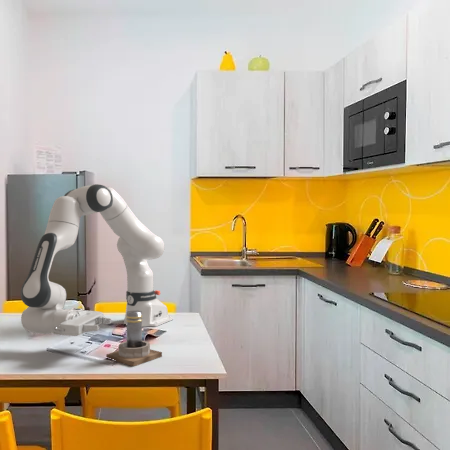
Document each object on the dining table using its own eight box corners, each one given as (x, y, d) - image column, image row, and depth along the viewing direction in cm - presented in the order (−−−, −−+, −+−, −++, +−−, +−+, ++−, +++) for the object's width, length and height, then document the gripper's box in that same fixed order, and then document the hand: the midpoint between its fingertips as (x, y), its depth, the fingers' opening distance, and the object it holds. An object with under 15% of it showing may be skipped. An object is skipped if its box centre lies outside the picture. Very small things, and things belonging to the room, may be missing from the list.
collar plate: (135, 349, 177) (134, 337, 177) (161, 356, 170) (161, 343, 170) (106, 358, 167) (106, 345, 167) (133, 366, 159) (133, 352, 159)
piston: (134, 349, 172) (134, 309, 171) (145, 352, 169) (145, 311, 168) (123, 353, 168) (123, 312, 167) (134, 356, 165) (134, 314, 164)
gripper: (51, 320, 162) (90, 322, 160) (81, 307, 182) (116, 309, 180) (51, 339, 162) (90, 341, 160) (81, 324, 183) (116, 326, 180)
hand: (104, 324), depth 170 cm, fingers open, 8 cm apart
